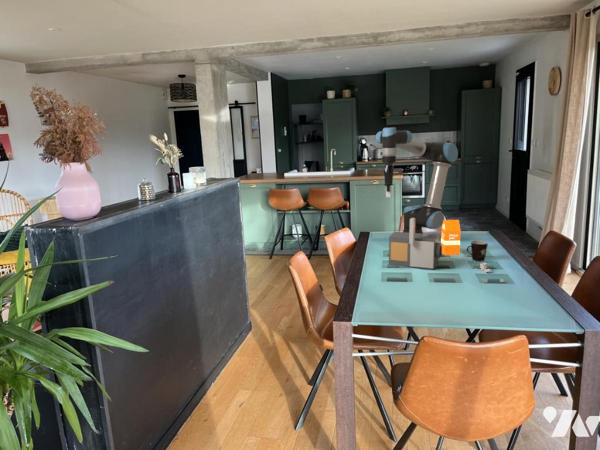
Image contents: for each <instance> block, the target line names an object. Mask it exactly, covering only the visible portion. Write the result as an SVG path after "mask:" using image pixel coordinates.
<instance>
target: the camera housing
mask: <svg viewBox="0 0 600 450" xmlns="http://www.w3.org/2000/svg"><path fill="white" fill-rule="evenodd" d="M439 238H440V234H433V233H427V232H423V234H420V233H415V240H416V241H428V242H434V268H433V269H432V268H422V267H413V266H410V244H409V233H406V232H403V231H394V232H392V234H390V235H389V237H388V265H389V266H395V267H396V266H397V267H405V268H415V269H424V270H432V271H433V270H435V269H436V267H437V265H438V263H439V259H440V258H441V257H442V255H443V253H442V244H441V242H440V239H439Z"/></svg>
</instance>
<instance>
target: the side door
mask: <svg viewBox="0 0 600 450" xmlns="http://www.w3.org/2000/svg"><path fill="white" fill-rule="evenodd" d="M409 244H410V266H413V267H412V268H414V267H422V268H421V269H423V268H432V269H431V270H433V268H434V242H428V241H416V240H415V218H411V219H410V232H409Z"/></svg>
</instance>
